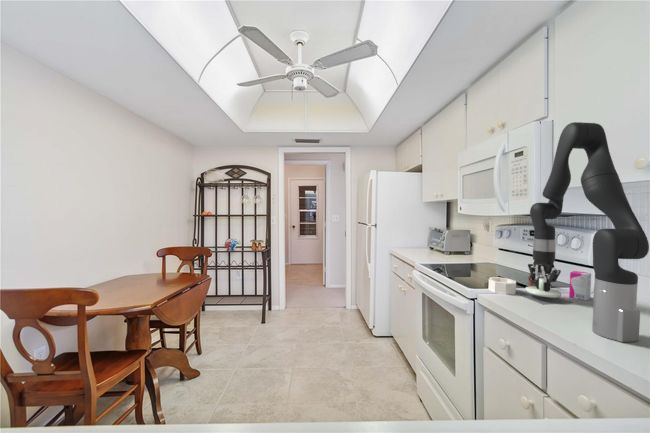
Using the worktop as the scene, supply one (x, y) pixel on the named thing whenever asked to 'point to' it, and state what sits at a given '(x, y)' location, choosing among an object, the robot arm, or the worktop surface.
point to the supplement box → (580, 285)
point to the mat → (543, 299)
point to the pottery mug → (533, 281)
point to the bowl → (502, 285)
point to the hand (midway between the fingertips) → (542, 289)
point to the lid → (542, 290)
